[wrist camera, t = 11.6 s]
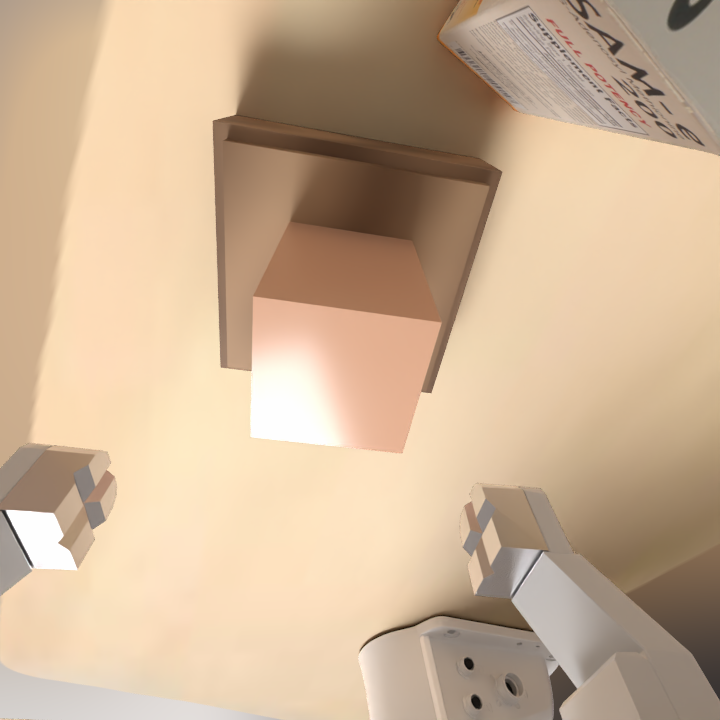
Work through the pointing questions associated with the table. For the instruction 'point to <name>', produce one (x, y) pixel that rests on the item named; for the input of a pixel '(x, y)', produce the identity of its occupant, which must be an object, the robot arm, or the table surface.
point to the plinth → (340, 212)
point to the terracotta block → (340, 339)
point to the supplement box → (600, 63)
